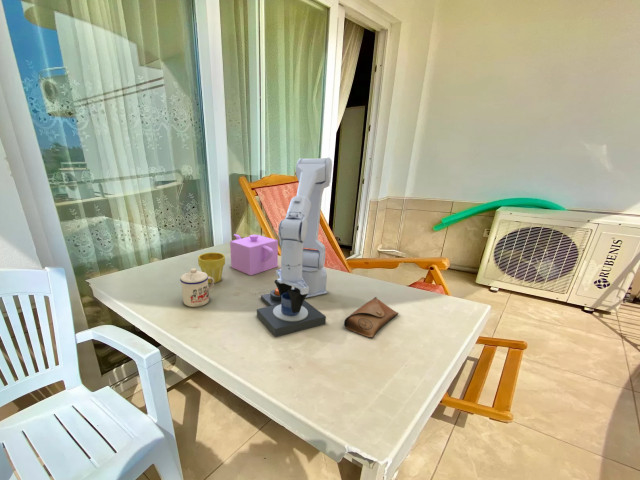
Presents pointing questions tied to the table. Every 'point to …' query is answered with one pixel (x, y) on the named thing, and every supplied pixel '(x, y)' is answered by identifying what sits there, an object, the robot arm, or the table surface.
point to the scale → (290, 319)
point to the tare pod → (271, 298)
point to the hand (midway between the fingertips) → (290, 307)
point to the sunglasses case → (369, 318)
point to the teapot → (254, 254)
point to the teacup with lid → (195, 288)
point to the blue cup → (286, 305)
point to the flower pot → (212, 265)
